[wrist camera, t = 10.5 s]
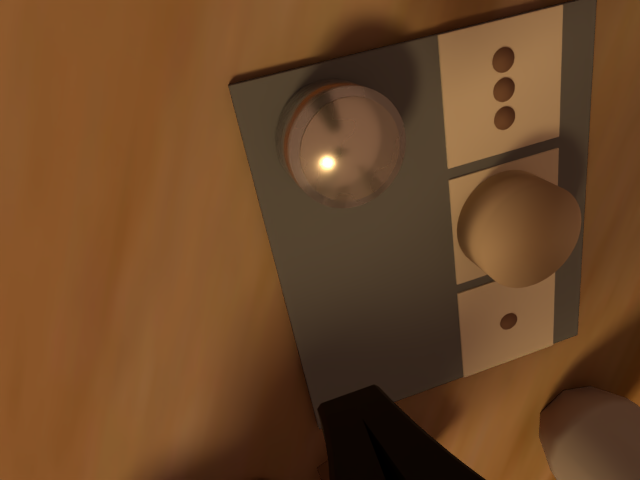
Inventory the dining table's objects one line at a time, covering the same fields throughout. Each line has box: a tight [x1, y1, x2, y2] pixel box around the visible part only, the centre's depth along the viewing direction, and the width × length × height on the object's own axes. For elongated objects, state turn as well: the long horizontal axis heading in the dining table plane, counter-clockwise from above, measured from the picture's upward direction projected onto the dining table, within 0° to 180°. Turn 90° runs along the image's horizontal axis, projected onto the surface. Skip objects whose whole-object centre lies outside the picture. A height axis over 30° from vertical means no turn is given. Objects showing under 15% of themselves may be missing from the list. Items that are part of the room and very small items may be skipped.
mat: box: [228, 0, 597, 429], centre depth 22 cm, size 14×16×1 cm
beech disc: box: [457, 170, 581, 288], centre depth 21 cm, size 4×4×2 cm
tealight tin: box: [275, 79, 406, 208], centre depth 18 cm, size 4×4×2 cm
